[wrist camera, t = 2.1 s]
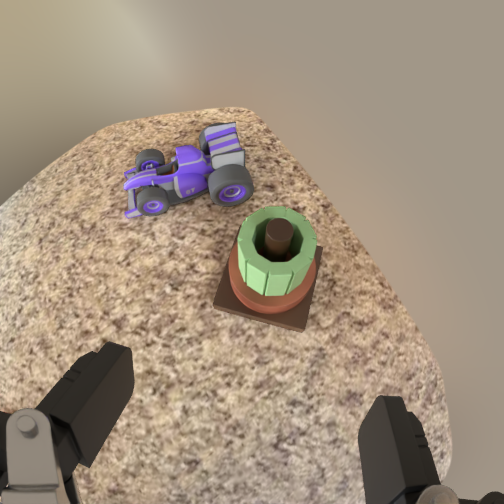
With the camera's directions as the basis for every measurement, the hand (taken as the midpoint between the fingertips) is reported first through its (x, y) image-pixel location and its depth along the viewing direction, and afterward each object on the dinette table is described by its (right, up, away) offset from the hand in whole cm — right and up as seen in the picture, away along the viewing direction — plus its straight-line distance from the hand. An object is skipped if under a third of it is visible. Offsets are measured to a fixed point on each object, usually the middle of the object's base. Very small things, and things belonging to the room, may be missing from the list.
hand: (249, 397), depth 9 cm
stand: (+2, +2, +23) cm, 23 cm away
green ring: (+2, +3, +20) cm, 20 cm away
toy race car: (-8, +13, +29) cm, 32 cm away
